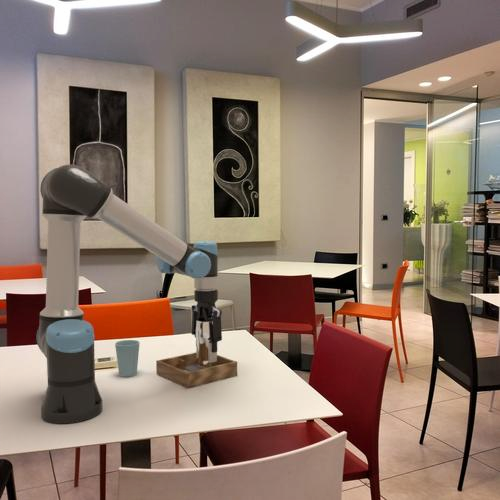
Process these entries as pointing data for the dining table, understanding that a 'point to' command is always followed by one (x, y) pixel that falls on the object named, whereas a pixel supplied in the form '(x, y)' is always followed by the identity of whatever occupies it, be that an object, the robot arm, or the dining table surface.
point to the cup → (127, 357)
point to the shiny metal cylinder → (203, 343)
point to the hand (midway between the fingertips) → (206, 359)
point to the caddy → (194, 370)
